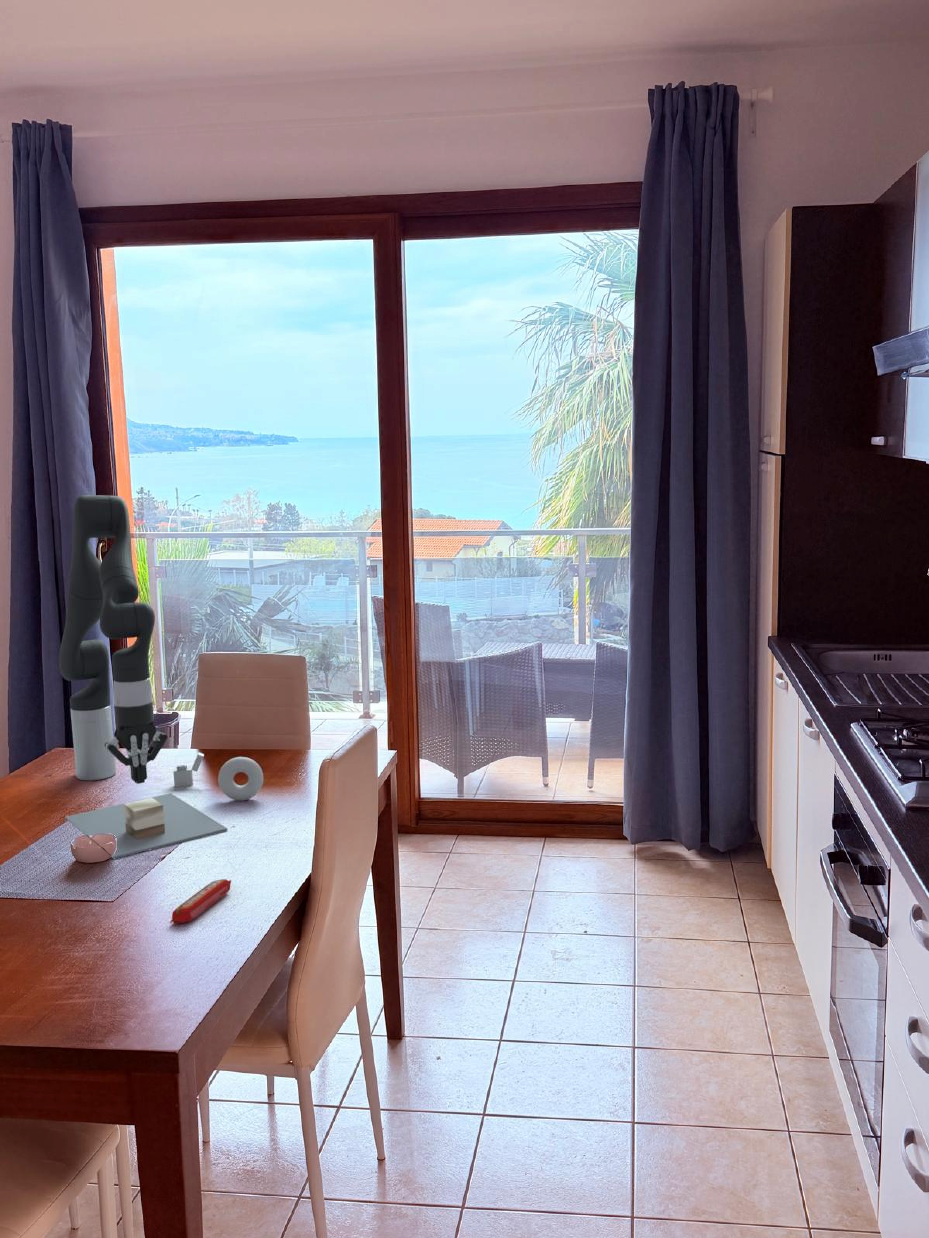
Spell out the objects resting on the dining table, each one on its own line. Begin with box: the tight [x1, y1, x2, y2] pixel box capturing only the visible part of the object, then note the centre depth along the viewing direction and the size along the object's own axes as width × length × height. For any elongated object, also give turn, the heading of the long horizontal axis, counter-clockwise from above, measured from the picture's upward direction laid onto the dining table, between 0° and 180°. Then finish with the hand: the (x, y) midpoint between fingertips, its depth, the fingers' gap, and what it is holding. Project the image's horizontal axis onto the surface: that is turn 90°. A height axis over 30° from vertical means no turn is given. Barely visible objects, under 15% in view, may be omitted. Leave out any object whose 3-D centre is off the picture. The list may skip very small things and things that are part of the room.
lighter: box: [172, 752, 205, 788], centre depth 258 cm, size 7×2×8 cm, turn 100°
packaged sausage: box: [170, 878, 232, 925], centre depth 191 cm, size 16×4×3 cm, turn 162°
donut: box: [217, 756, 264, 802], centre depth 247 cm, size 10×3×10 cm, turn 97°
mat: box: [64, 792, 228, 860], centre depth 233 cm, size 30×24×1 cm
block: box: [123, 797, 165, 840], centre depth 227 cm, size 6×6×6 cm
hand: (139, 782), depth 227 cm, fingers closed
